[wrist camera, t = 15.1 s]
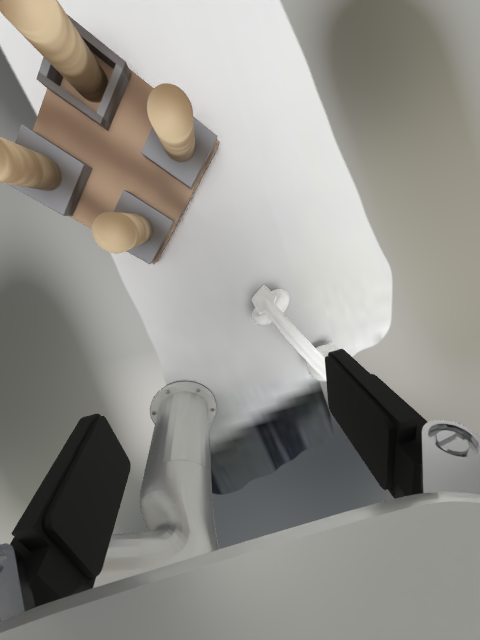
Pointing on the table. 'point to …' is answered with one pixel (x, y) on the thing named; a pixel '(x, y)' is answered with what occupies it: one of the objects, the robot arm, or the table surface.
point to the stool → (112, 155)
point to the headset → (289, 329)
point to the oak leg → (58, 43)
